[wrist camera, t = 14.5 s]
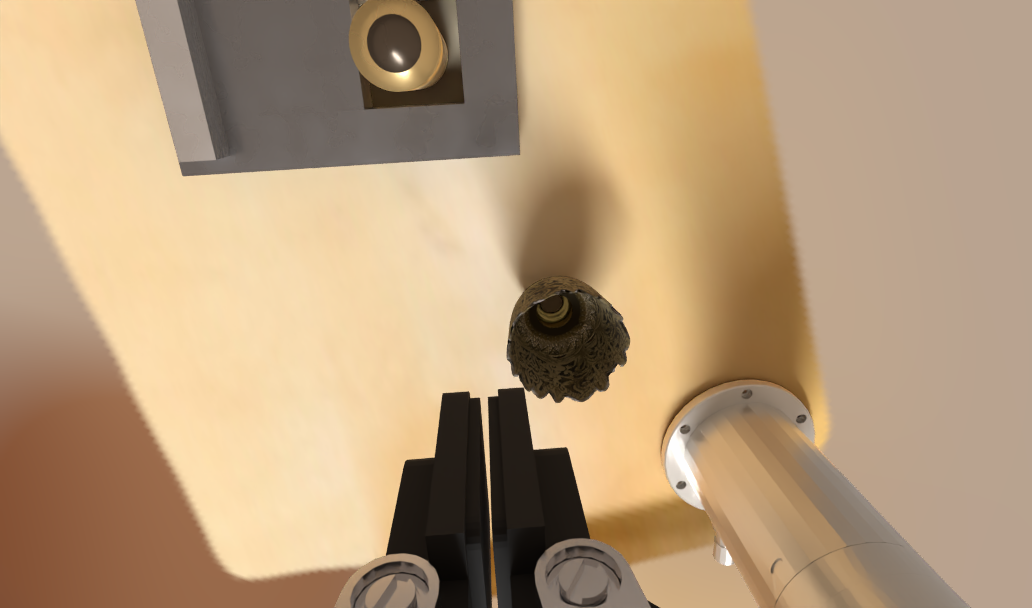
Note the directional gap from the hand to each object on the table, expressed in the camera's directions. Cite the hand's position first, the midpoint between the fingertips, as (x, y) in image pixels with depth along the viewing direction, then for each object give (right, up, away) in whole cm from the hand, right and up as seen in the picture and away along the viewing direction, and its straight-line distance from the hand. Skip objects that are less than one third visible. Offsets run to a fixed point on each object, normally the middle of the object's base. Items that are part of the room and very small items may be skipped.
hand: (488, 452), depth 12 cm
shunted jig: (-10, +20, +22) cm, 31 cm away
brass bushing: (-6, +18, +23) cm, 30 cm away
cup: (+3, +3, +30) cm, 30 cm away
